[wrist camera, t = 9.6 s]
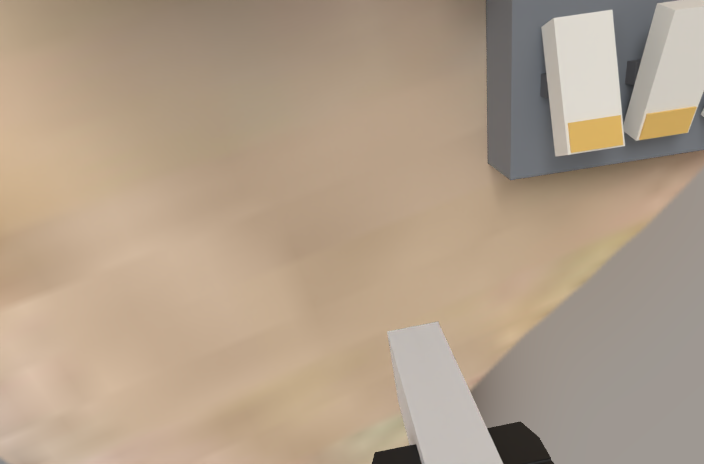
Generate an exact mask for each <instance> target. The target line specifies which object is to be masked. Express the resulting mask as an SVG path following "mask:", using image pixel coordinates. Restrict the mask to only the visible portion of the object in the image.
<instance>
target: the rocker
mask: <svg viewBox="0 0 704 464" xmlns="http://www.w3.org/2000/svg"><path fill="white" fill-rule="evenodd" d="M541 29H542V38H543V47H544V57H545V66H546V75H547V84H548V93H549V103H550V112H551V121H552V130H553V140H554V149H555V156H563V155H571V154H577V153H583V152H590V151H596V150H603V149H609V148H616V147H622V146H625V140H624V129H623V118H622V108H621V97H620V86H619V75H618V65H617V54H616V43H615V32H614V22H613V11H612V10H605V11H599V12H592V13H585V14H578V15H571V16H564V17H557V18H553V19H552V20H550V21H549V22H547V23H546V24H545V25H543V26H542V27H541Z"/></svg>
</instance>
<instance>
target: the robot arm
mask: <svg viewBox="0 0 704 464" xmlns="http://www.w3.org/2000/svg"><path fill="white" fill-rule="evenodd" d="M387 333H388V339H389V346H390V352H391V358H392V365H393V371H394V377H395V383H396V390H397V396H398V402H399V406H400V410H401V414H402V417H403V421H404V425H405V429H406V433H407V437H408V440H409V444H410V446H405V447H400V448H395V449H390V450H385V451H380V452H375V454H374V458H373V462H372V464H554V463H553V462H552V461H551V457H550V456H549V454H548V452H547V450H546V449H545V447H544V445H543V444H542V442H541V440H540V438H539V437H538V436H537V435H536V434H534V433H533V432H532V431H531V430H530V429H529V428H527V427H526V426H525V425H524V424H523V423H521V422H516V423H511V424H506V425H502V426H496V427H492V428H487V427H486V425H485V423H484V421H483V419H482V416H481V414H480V412H479V410H478V408H477V406H476V404H475V402H474V399H473V397H472V395H471V392H470V390H469V388H468V386H467V384H466V382H465V379H464V377H463V375H462V373H461V371H460V368H459V366H458V364H457V362H456V360H455V358H454V355H453V353H452V351H451V349H450V347H449V344H448V342H447V340H446V338H445V336H444V334H443V331H442V329H441V327H440V325H439V323H438V322H433V323H428V324H423V325H418V326H413V327H408V328H403V329H398V330H393V331H388V332H387Z"/></svg>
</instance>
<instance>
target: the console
mask: <svg viewBox="0 0 704 464" xmlns="http://www.w3.org/2000/svg"><path fill="white" fill-rule="evenodd" d="M670 1H677V0H486V37H487V135H488V164H490V165H491V166H492V167H494V168H495V169H496V170H498V171H499V172H500V173H502V174H503V175H504V176H506V177H507V178H508V179H510V180H515V179H521V178H527V177H534V176H540V175H546V174H553V173H559V172H565V171H572V170H578V169H585V168H591V167H597V166H604V165H610V164H616V163H623V162H629V161H635V160H642V159H648V158H655V157H661V156H667V155H674V154H680V153H686V152H693V151H699V150H704V117H703V116H702V115H701V113H702V111H703V109H704V92H703V94H702V97H701V100H700V102H699V105H698V108H697V110H696V113H695V116H694V118H693V121H692V124H691V126H690V129H689V132H688V133H683V134H676V135H670V136H663V137H657V138H651V139H644V140H638V141H636V140H634V139H633V138H632V137H630V136H629V135H628V134H627V133H625V132H624V140H625V146H622V147H616V148H609V149H603V150H596V151H590V152H583V153H577V154H571V155H563V156H555V149H554V140H553V130H552V121H551V112H550V103H549V93H548V84H547V75H546V66H545V57H544V47H543V38H542V29H541V27H542V26H543V25H545V24H546V23H547V22H549V21H550V20H552V19H553V18H557V17H564V16H571V15H578V14H585V13H592V12H599V11H605V10H612V11H613V22H614V32H615V43H616V54H617V65H618V75H619V86H620V97H621V108H622V118H623V124H624V121H625V117H626V114H627V110H628V106H629V103H630V99H631V95H632V92H633V88H634V85H635V81H636V77H637V74H638V70H639V67H640V63H641V59H642V56H643V52H644V49H645V45H646V41H647V38H648V34H649V30H650V27H651V23H652V20H653V16H654V12H655V9H656V5H657V3H663V2H670Z"/></svg>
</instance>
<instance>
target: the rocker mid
mask: <svg viewBox="0 0 704 464" xmlns="http://www.w3.org/2000/svg"><path fill="white" fill-rule="evenodd" d="M703 92H704V0H677V1H670V2H663V3H657V5H656V9H655V12H654V16H653V20H652V23H651V27H650V30H649V34H648V38H647V41H646V45H645V49H644V52H643V56H642V59H641V63H640V67H639V70H638V74H637V77H636V81H635V85H634V88H633V92H632V95H631V99H630V103H629V106H628V110H627V114H626V117H625V121H624V124H623V129H624V132H625V133H627V134H628V135H629V136H630V137H632V138H633V139H634V140H636V141H638V140H644V139H651V138H657V137H663V136H670V135H676V134H683V133H688V132H689V129H690V126H691V124H692V121H693V118H694V116H695V113H696V110H697V108H698V105H699V102H700V100H701V97H702V94H703Z"/></svg>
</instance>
